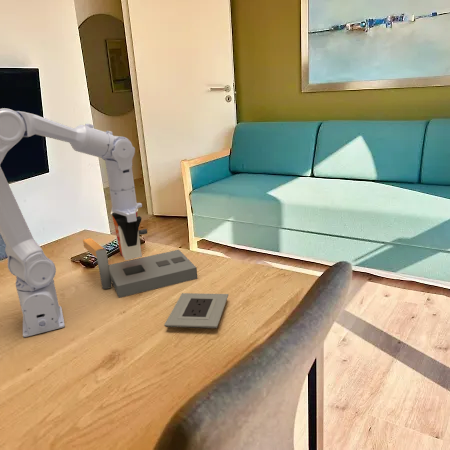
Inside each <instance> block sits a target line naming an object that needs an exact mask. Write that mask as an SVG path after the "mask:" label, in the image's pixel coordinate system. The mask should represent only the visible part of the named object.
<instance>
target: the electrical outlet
mask: <svg viewBox="0 0 450 450" xmlns="http://www.w3.org/2000/svg"><path fill="white" fill-rule="evenodd" d="M228 297H229V293H192V292H191V293H190V292H189V293H187V292H186V293H185V292H182V293H181V294H180V296H179V298H178V300H177V301H176V303H175V305H174V307H173V308H172V310H171V312H170V313H169V316H168V318H167V319H166V321H165V323H164V325H163V326H164V327H165V328H178V329H179V328H183V329H212V330H213V329H215V330H217V328H218V326H219V324H220V320H221V318H222V315H223V312H224V309H225V306H226V304H227V301H228Z"/></svg>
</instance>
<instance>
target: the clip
mask: <svg viewBox="0 0 450 450" xmlns="http://www.w3.org/2000/svg"><path fill="white" fill-rule="evenodd" d="M82 242H83V247H84V249H85V250H87V251H88V252H89V253H90V254H91V255H93V256H94V257H95V258H96V259H97V267H98V272H99V276H100V282H101V288H102V289H104V290H107V289H111V288H112V287H113V284H112V282H111V276H110V270H109V265H110V264H109V257H108V253H107V249H106V248H104V247H103V246H101V245H100V244H99V243H98V242H96V241H95V240H94V239H93V238H91V237H88V238H85V239H82Z"/></svg>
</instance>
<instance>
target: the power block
mask: <svg viewBox="0 0 450 450" xmlns="http://www.w3.org/2000/svg"><path fill="white" fill-rule="evenodd" d="M197 269H198V268H197V266H196V265H195V264H194V263H192V261H191V260H190V259H189V258H188V257H187V256H186V255H185V254H184V253H183V252H182V251H181V250H180V249H175V250H171V251H165V252H162V253H158V254H157V253H156V254H152V255H148V256H144V257H143V256H142V257H138V258H134V259H129V260H125V261H120V262H116V263H111V264H109V270H110V276H111V282H112V287H113V288H114V290H115V293H116V295H117V297H118V298H119V299H120V298H124V297H128V296H132V295H137V294H139V293H144V292H145V293H146V292H149V291H153V290H156V289H161V288H165V287H169V286H173V285H177V284H181V283H182V284H183V283H185V282H188V281H189V282H190V281H193V280H197V279H199V278H198V270H197Z"/></svg>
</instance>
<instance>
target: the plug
mask: <svg viewBox="0 0 450 450" xmlns="http://www.w3.org/2000/svg"><path fill="white" fill-rule="evenodd" d="M118 230H119V237H120V243H121V250H122V255H123V256H122V255H121V256H122V257H123V258H124V260H125V261H129V260H133V259H138V258H143V254H142V247H141V241H140V240H141V239H140V236H142V235H147V234H148V229H147V228H143V229H139V230H138V236H137V245H135V246H130V247H128V246H127V244H126V241H125V238H124V234H123V232H122V229H121V227H120V226H118Z"/></svg>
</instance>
